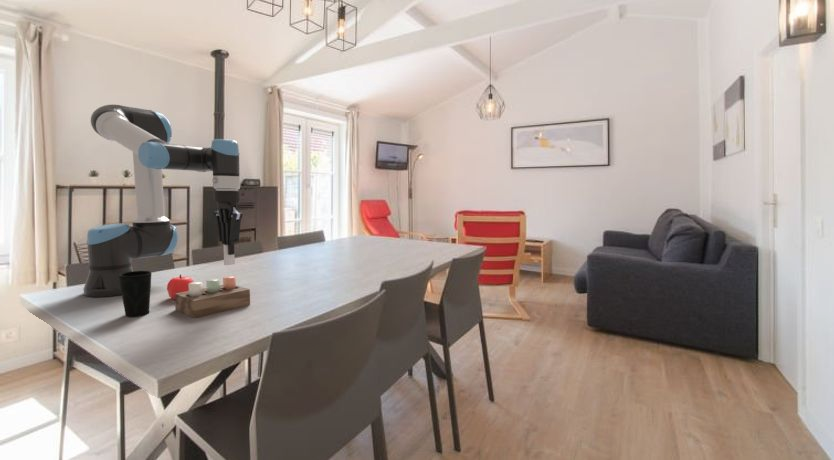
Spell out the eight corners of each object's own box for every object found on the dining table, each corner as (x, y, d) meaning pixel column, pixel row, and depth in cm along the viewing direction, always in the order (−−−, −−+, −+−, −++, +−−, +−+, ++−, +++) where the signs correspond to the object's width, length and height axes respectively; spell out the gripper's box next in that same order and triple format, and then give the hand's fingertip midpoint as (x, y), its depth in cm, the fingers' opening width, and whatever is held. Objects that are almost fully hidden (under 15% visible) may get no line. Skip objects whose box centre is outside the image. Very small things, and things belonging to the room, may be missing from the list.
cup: (136, 319, 108) (134, 277, 107) (113, 317, 110) (111, 275, 109) (159, 311, 116) (158, 271, 115) (138, 309, 117) (136, 270, 116)
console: (175, 309, 117) (174, 293, 117) (230, 297, 131) (229, 283, 131) (194, 318, 110) (193, 300, 110) (250, 304, 124) (249, 289, 124)
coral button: (221, 289, 124) (220, 277, 124) (232, 287, 127) (231, 275, 127) (227, 291, 122) (226, 279, 122) (238, 289, 125) (237, 277, 124)
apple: (161, 300, 127) (160, 276, 126) (179, 294, 134) (178, 271, 134) (183, 301, 126) (182, 277, 125) (200, 295, 133) (199, 272, 133)
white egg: (186, 296, 116) (186, 283, 115) (199, 294, 119) (198, 281, 118) (192, 298, 114) (191, 285, 113) (205, 296, 116) (204, 283, 116)
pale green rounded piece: (204, 293, 120) (204, 280, 119) (216, 290, 123) (215, 278, 122) (210, 295, 118) (210, 282, 117) (222, 292, 121) (221, 280, 120)
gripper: (204, 189, 122) (207, 263, 124) (226, 190, 114) (228, 268, 117) (227, 190, 128) (230, 260, 130) (249, 190, 120) (251, 265, 123)
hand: (229, 264), depth 124 cm, fingers closed
